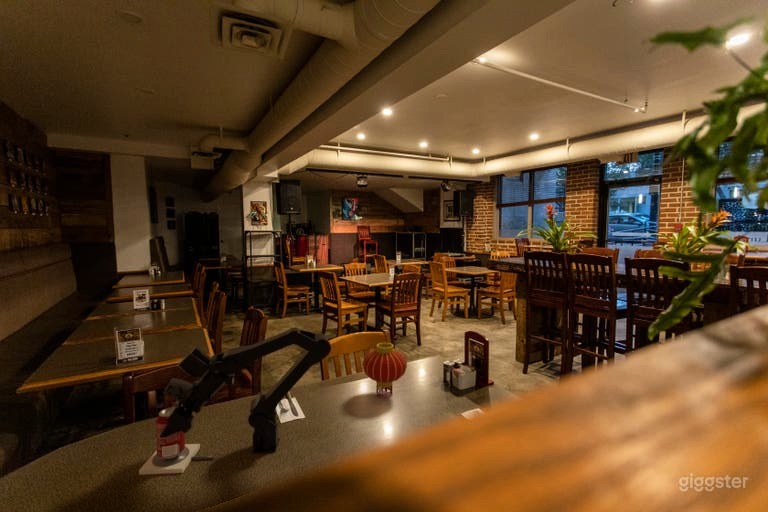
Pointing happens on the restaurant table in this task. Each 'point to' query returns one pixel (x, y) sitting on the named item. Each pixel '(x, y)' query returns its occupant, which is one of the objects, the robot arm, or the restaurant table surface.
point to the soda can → (168, 438)
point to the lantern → (384, 366)
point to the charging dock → (172, 461)
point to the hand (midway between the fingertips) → (165, 429)
